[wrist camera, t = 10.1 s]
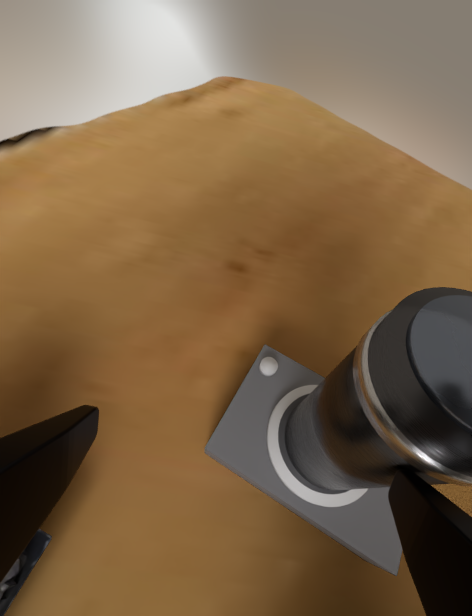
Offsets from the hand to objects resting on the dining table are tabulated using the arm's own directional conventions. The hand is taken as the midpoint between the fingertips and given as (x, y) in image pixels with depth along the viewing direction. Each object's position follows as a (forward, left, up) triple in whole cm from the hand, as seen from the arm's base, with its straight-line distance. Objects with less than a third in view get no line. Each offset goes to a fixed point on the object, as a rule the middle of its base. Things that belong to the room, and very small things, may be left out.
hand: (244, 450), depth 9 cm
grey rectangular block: (-4, -4, -14) cm, 15 cm away
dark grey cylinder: (-4, -4, -9) cm, 11 cm away
